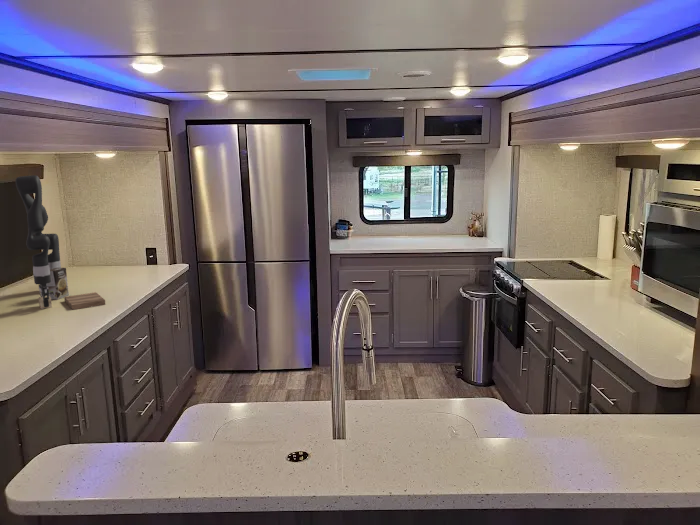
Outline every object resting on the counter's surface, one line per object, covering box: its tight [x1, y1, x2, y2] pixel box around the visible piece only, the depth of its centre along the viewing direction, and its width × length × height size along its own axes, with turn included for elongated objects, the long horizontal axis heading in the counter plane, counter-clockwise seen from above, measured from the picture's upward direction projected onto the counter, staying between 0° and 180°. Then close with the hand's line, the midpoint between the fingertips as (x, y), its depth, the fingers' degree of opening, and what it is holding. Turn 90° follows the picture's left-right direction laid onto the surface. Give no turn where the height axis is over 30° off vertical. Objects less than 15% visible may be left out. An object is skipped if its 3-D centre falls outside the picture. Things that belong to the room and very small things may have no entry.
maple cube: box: [38, 296, 53, 310], centre depth 286 cm, size 5×5×5 cm
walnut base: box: [63, 291, 106, 311], centre depth 294 cm, size 20×16×2 cm
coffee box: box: [47, 267, 70, 300], centre depth 304 cm, size 9×6×16 cm
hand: (45, 305), depth 287 cm, fingers closed on maple cube, 5 cm apart
